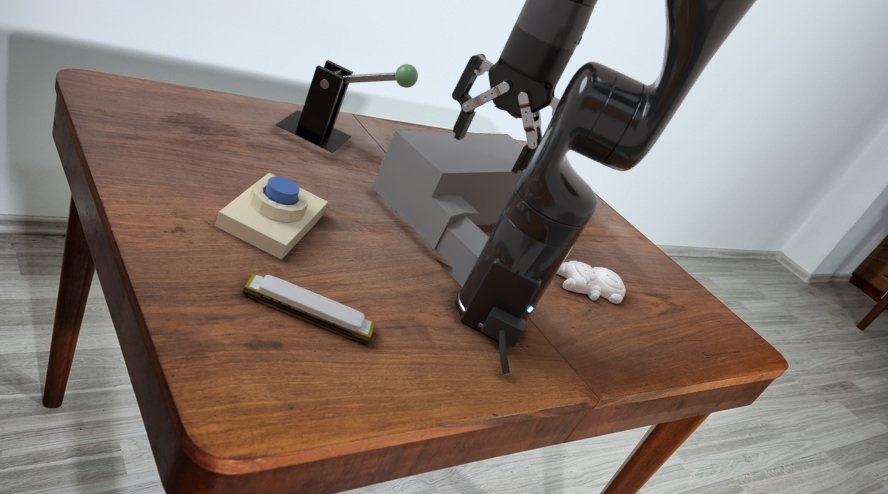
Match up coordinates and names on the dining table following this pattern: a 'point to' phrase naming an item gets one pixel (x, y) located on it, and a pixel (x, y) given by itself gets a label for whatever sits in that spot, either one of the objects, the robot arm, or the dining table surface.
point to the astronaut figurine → (592, 281)
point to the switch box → (270, 218)
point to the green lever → (386, 76)
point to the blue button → (282, 190)
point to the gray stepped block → (449, 189)
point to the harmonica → (309, 307)
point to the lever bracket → (321, 109)
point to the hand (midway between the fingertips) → (487, 154)
